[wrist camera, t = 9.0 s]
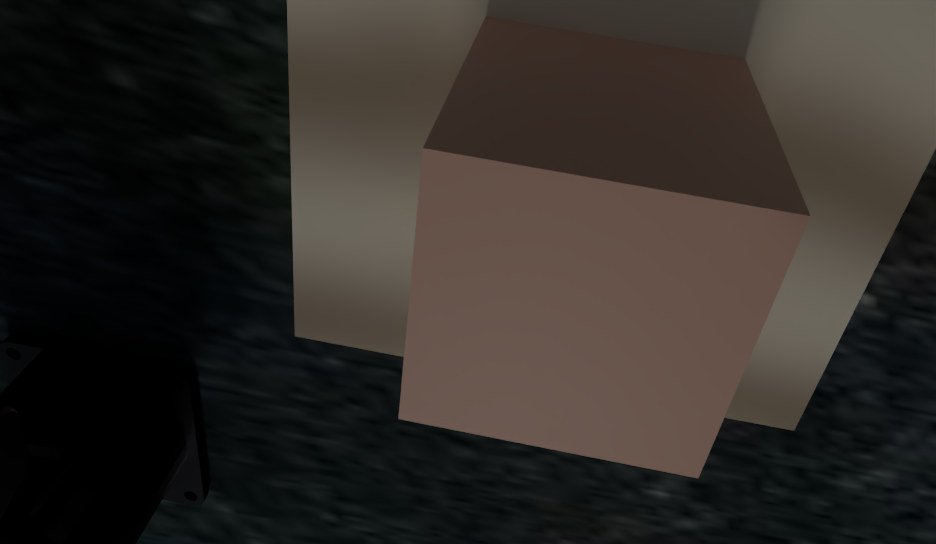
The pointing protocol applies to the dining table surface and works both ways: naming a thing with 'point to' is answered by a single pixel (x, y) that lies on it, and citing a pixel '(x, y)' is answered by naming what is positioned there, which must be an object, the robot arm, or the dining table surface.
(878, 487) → the dining table surface
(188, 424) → the robot arm
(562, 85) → the terracotta block
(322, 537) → the dining table surface
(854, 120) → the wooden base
